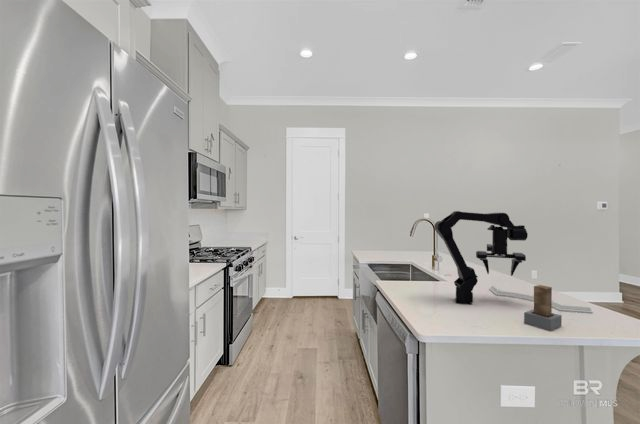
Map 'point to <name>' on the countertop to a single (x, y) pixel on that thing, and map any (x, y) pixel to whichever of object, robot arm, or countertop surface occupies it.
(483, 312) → the countertop surface
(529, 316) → the end cap
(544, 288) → the tall wooden block
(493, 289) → the molding
